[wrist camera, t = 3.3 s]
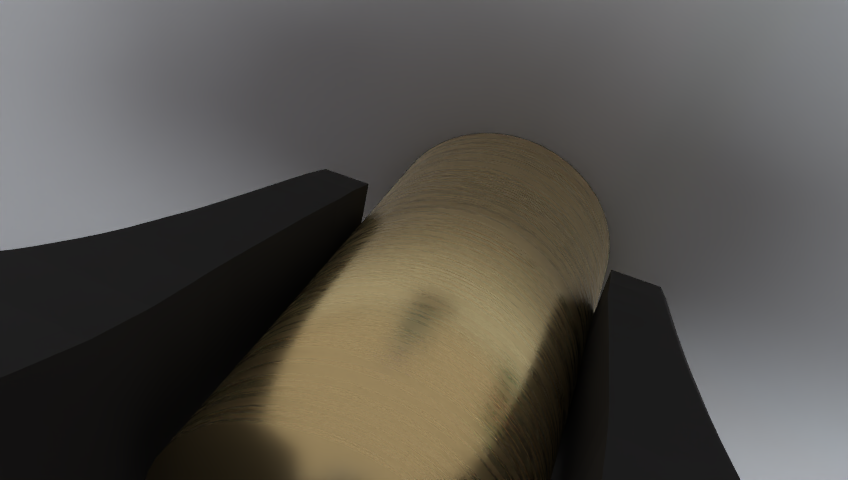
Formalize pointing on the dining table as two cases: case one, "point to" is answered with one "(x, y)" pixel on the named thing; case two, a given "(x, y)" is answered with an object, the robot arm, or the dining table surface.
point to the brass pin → (422, 334)
